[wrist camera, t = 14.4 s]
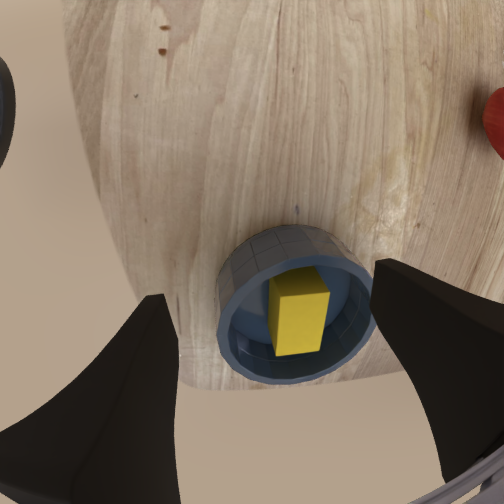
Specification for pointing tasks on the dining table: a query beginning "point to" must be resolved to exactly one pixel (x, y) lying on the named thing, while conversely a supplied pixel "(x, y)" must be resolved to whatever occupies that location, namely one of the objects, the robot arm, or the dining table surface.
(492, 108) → the onion
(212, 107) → the dining table surface
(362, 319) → the bowl
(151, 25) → the dining table surface
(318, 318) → the yellow block
